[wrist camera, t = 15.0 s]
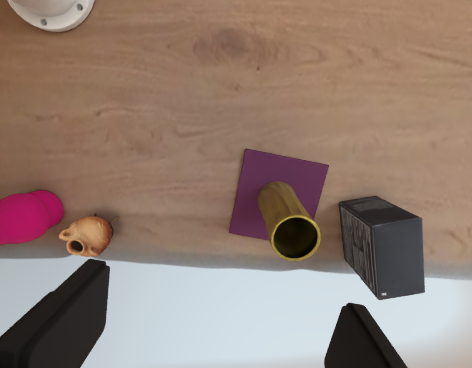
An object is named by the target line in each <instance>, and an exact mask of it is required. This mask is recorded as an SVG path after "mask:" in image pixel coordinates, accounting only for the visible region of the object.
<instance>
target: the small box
mask: <svg viewBox="0 0 472 368" xmlns="http://www.w3.org/2000/svg"><path fill="white" fill-rule="evenodd" d="M339 208H340V218H341V228H342V238H343V248H344V256H345V260H346V262H347V263H348V264H349V265H350V266H351V267H352V268H353V269H354V271H355V272H356V273H357V274H358V275H359V276H360V278H361V279H362V280H363V282H364V283H365V284H366V285H367V286H368V288H369V289H370V290H371V291H372V292H373V294H374V295H375V296H376V297H377V298H378V300H383V299H389V298H396V297H401V296H408V295H413V294H420V293H424V292H425V286H424V259H423V230H422V218H421V217H418V216H416V215H414V214H412V213H410V212H408V211H406V210H404V209H402V208H399V207H397V206H395V205H393V204H391V203H389V202H387V201H385V200H383V199H381V198H379V197H377V196H373V197H366V198H360V199H355V200H349V201H343V202H340V203H339Z"/></svg>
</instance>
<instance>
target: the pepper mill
mask: <svg viewBox="0 0 472 368" xmlns="http://www.w3.org/2000/svg"><path fill="white" fill-rule="evenodd" d="M63 213H64V211H63V206H62V203H61V201H60V200H59V198H57V197H56V196H55V195H54V194H53V193H51V192H48V191H44V190H39V191H34V192H31V193H28V194H23V193H21V194H14V195H10V196H8V197H6V198H3V199H2V200H0V245H2V244H16V243H23V242H28V241H31V240H34V239H36V238H38V237H40V236H42V235H43V234H44V233H45V232H46V231H47V229H48V228H50V227H52V226H54V225H56V224H57V223H59V222H60V221H61V219H62V217H63Z"/></svg>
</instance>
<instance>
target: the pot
mask: <svg viewBox="0 0 472 368" xmlns="http://www.w3.org/2000/svg"><path fill="white" fill-rule="evenodd" d="M94 215H95V217H85V218H82V219H79V220H77V221H76V222H73V223H72V224H71V225H70V227H69V228H68V229H65V230H64V231H62V232H61V233H60V234H59V238H60V239H61V240H64V241H67V245H66V247H67V250H68V251H69V252H70V253H71V254H73V255H81V256H86V257H89V256H98V255H100V254H101V253H102V252H103V251H104V250H105V249H106V248H107V246H108V245H109V243H110V241H111V238H112V236H113V227H112V225H111V224H112V223H113V222H114V221H116V220H117V219H118V218H119V217H120V216H119V217H117V218H116V219H115V220H113V221H112V222H111V223H109V221H107V220H106V219H105V218H102V217H98V216H96V214H94ZM65 234H66V235H67V236H64V235H65Z"/></svg>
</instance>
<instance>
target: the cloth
mask: <svg viewBox="0 0 472 368" xmlns="http://www.w3.org/2000/svg"><path fill="white" fill-rule="evenodd" d="M328 167H329V165H325V164H320V163H315V162H310V161H305V160H300V159H295V158H290V157H285V156H280V155H275V154H270V153H265V152H260V151H255V150H250V149H246V151H245V156H244V161H243V166H242V171H241V176H240V181H239V186H238V190H237V195H236V200H235V205H234V210H233V215H232V220H231V225H230V230H229V233H233V234H238V235H243V236H249V237H254V238H259V239H264V240H269V236H268V232H267V228H266V223H265V220H264V218H263V216H262V213H261V210H260V209H259V206H258V196H259V193H260V191H261V190H262V188H263V187H264V186H266V185H267V184H269V183H272V182H284V183H286V184H288V185H290V186H291V187H292V188H293V190H294V191H295V193H296V196H297V198H298V199H299V201H300V203H301V204H302V206H303V207H304V208H305V210H306V211H307V212H308V214H309V215H310V217H311V218H312V219H313V220H314V217H315V213H316V210H317V206H318V203H319V199H320V195H321V192H322V188H323V185H324V181H325V178H326V174H327V171H328Z"/></svg>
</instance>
